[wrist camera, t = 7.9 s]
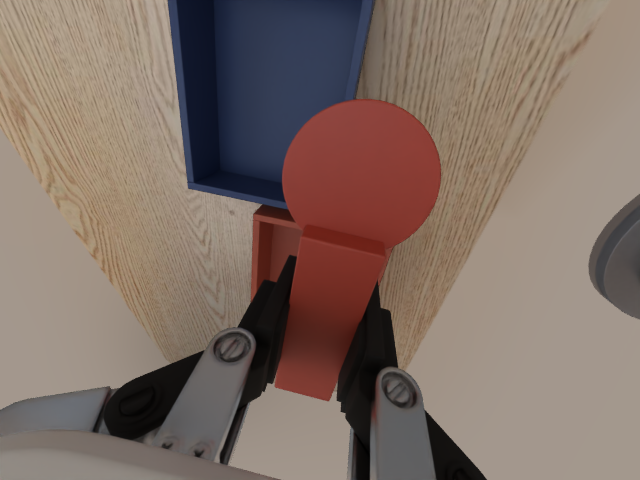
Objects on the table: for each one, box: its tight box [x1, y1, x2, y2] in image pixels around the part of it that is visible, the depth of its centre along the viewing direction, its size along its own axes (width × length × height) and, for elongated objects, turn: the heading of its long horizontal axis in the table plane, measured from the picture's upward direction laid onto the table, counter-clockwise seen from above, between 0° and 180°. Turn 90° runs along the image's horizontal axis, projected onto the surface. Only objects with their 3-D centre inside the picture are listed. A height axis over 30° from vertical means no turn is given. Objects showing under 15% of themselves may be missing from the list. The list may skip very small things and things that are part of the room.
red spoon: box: [275, 99, 441, 401], centre depth 9 cm, size 11×4×3 cm, turn 169°
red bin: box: [251, 204, 394, 302], centre depth 27 cm, size 15×12×5 cm
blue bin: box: [168, 0, 375, 210], centre depth 19 cm, size 15×12×5 cm
